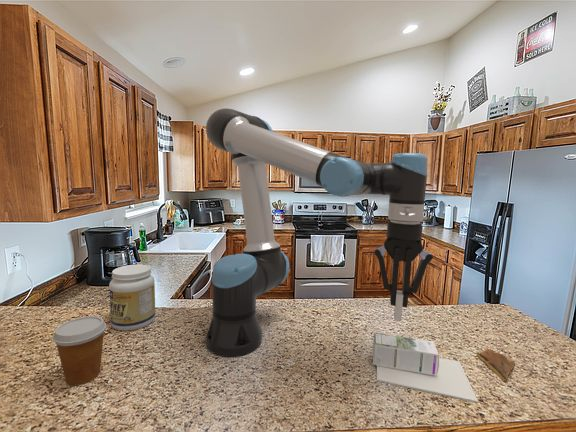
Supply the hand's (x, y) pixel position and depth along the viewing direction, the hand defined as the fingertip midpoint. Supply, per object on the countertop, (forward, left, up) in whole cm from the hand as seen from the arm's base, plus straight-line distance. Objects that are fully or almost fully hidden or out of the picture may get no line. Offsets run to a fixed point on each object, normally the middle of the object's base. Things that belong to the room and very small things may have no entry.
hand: (397, 318), depth 69 cm
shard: (+26, +9, -13) cm, 31 cm away
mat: (+6, 0, -12) cm, 14 cm away
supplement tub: (-76, -4, -13) cm, 77 cm away
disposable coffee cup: (-67, -27, -13) cm, 73 cm away
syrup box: (-5, +1, -9) cm, 10 cm away
